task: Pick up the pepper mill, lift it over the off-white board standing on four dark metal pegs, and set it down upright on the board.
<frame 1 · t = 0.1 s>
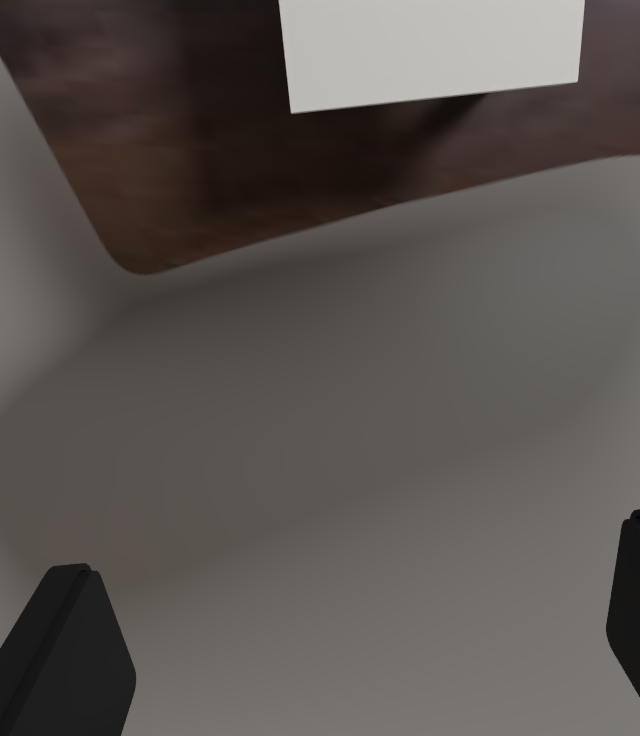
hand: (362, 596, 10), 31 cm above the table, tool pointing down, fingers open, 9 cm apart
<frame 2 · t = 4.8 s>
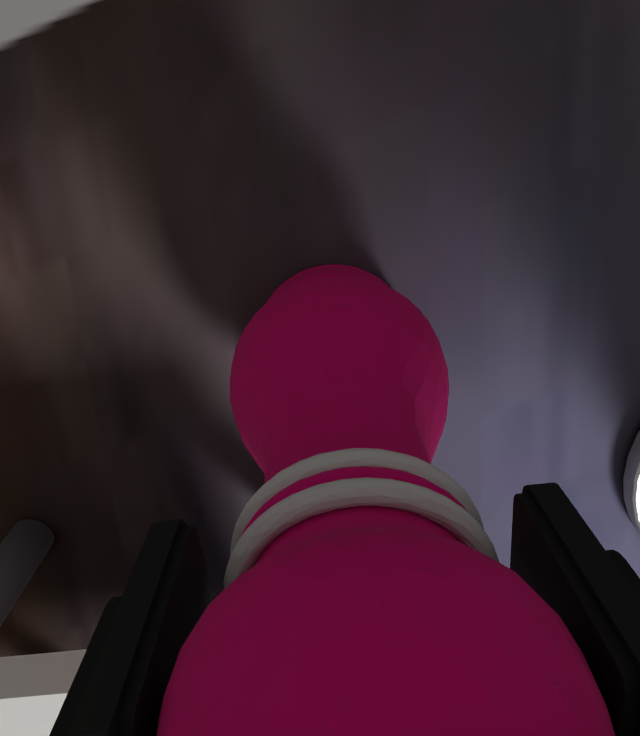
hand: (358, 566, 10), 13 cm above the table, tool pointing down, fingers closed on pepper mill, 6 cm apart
pepper mill: (332, 336, 22), on the table, touching gripper
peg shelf: (188, 605, 28), on the table
when the fingers open (23 cm above the table, at t = 11.3 s): pepper mill drops 1 cm, resting on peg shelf.
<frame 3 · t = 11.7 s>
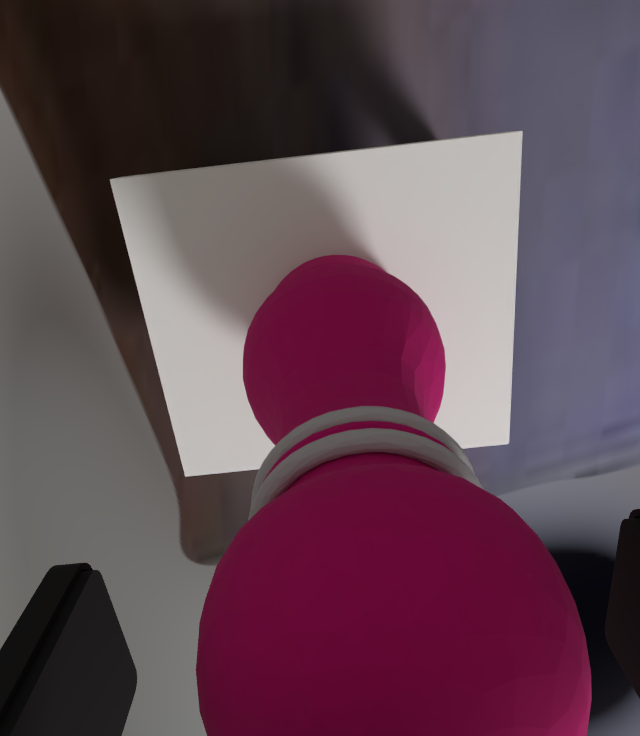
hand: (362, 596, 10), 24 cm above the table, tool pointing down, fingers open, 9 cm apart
pepper mill: (336, 323, 23), point 9 cm above the table, touching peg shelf
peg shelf: (325, 274, 32), on the table
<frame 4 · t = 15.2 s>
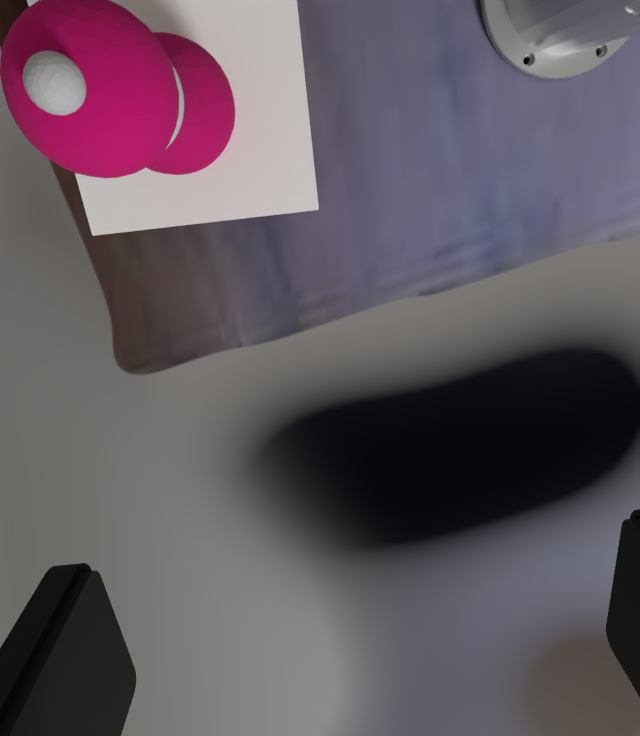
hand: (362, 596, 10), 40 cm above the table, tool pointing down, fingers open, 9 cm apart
pepper mill: (187, 111, 34), point 9 cm above the table, touching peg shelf
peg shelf: (209, 117, 43), on the table
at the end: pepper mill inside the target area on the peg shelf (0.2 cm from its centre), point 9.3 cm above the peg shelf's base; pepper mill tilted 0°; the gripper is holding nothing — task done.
